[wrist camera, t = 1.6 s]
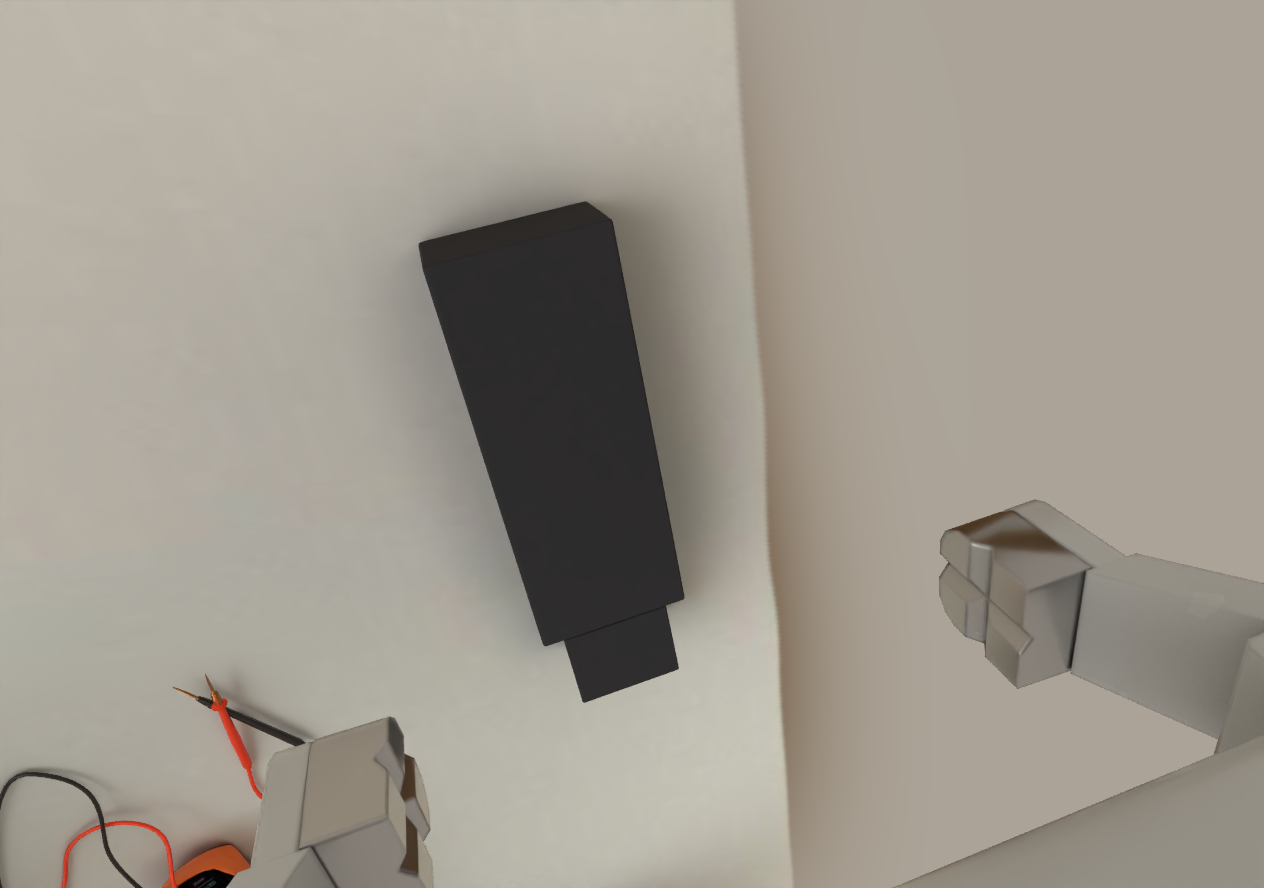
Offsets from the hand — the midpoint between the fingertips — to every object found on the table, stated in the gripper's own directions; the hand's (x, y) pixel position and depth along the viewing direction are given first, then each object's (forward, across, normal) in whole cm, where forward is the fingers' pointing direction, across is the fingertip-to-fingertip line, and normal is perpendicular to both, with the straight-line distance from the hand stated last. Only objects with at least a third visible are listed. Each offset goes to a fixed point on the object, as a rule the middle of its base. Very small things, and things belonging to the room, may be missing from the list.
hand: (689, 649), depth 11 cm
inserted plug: (+15, 0, +5) cm, 16 cm away
